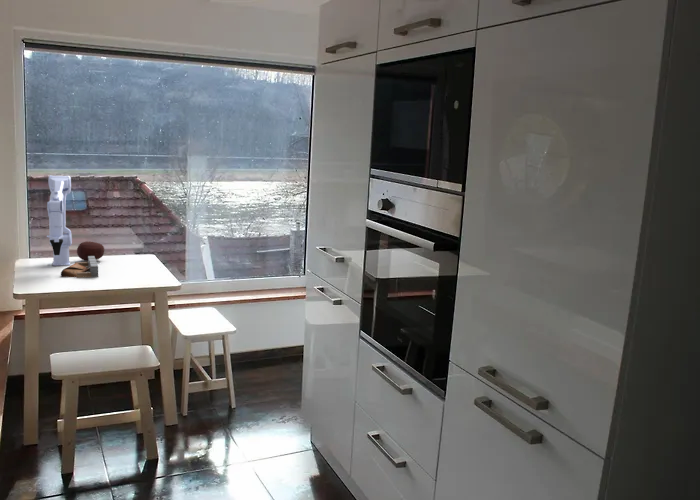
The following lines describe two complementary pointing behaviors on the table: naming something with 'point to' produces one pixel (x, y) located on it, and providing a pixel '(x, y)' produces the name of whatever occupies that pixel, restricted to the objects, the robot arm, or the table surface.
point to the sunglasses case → (73, 270)
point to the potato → (90, 250)
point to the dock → (92, 268)
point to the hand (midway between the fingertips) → (56, 255)
